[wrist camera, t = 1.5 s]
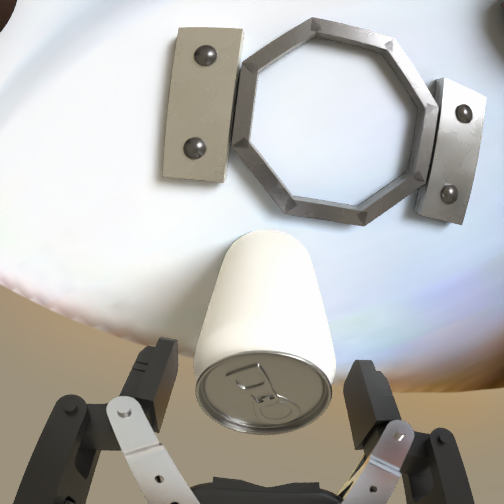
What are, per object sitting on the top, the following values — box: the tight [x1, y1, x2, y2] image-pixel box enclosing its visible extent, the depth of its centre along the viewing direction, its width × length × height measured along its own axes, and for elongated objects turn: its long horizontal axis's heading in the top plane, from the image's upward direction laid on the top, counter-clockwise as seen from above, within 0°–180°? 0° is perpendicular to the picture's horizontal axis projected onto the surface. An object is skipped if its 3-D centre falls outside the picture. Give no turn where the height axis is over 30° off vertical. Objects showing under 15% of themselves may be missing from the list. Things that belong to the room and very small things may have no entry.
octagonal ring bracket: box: [163, 17, 486, 226], centre depth 17 cm, size 22×13×1 cm, turn 83°
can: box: [193, 229, 336, 435], centre depth 17 cm, size 6×6×12 cm
